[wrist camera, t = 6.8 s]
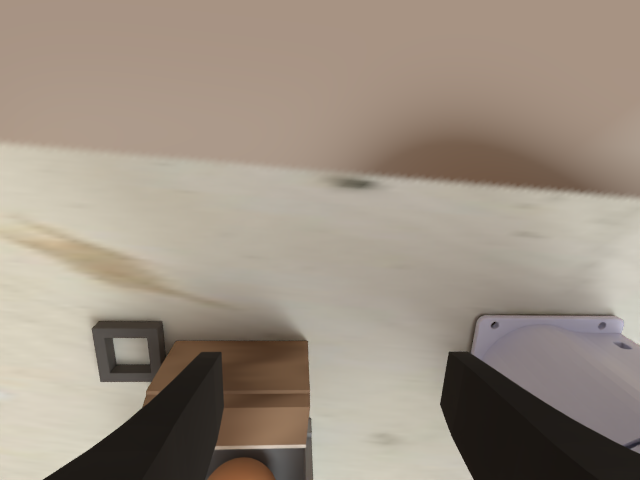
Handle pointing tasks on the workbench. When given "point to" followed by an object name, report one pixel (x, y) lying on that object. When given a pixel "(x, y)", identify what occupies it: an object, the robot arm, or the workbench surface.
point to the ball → (242, 470)
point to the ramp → (252, 390)
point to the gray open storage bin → (273, 459)
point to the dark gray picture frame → (128, 329)
